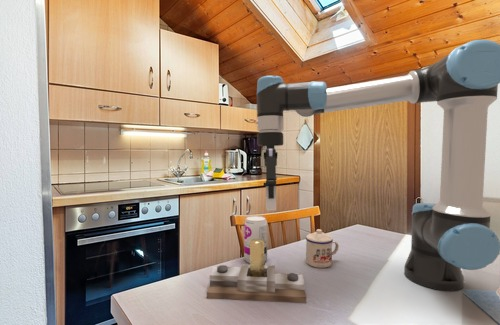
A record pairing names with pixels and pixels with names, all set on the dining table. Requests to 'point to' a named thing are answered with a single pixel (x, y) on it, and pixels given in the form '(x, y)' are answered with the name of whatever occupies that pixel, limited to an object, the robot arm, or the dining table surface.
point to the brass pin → (256, 258)
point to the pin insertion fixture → (255, 285)
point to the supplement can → (254, 234)
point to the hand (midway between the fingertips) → (270, 205)
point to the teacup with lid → (319, 249)
